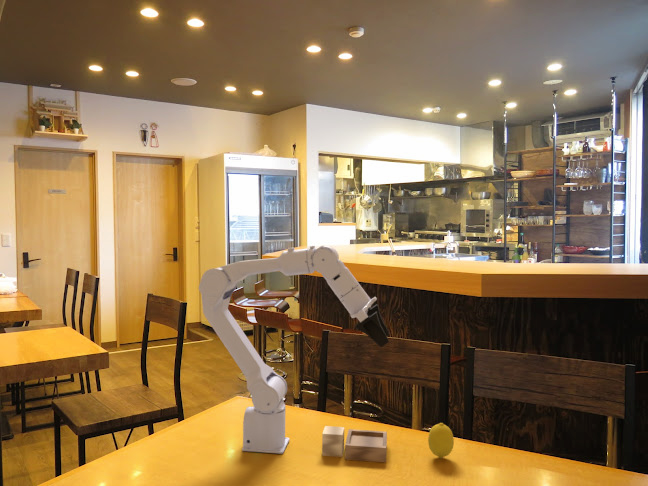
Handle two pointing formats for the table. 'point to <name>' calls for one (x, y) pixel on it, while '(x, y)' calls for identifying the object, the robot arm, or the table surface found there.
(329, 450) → the block
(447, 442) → the lemon
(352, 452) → the tray
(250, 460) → the table surface
